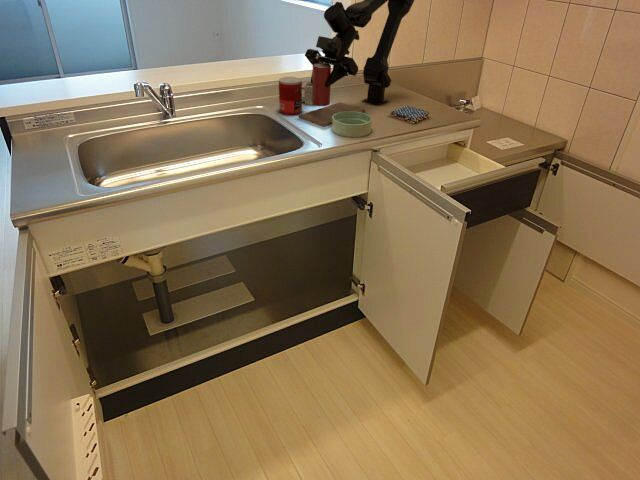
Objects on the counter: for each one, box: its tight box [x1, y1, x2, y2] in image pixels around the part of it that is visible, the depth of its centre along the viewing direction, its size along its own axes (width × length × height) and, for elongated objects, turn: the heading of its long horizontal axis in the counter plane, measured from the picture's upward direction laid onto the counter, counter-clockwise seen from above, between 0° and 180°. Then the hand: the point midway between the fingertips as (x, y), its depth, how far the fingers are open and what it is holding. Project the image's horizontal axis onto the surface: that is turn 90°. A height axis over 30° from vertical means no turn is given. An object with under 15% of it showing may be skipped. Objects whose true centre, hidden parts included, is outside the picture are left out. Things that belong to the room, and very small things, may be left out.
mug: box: [302, 81, 314, 106], centre depth 162 cm, size 10×7×7 cm
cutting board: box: [298, 101, 366, 128], centre depth 152 cm, size 21×12×2 cm, turn 136°
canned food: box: [278, 76, 303, 116], centre depth 152 cm, size 8×8×11 cm
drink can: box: [312, 63, 332, 107], centre depth 141 cm, size 6×6×12 cm
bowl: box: [331, 111, 373, 138], centre depth 140 cm, size 13×13×4 cm
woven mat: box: [389, 105, 430, 124], centre depth 153 cm, size 10×11×2 cm
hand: (318, 84), depth 140 cm, fingers closed on drink can, 6 cm apart
